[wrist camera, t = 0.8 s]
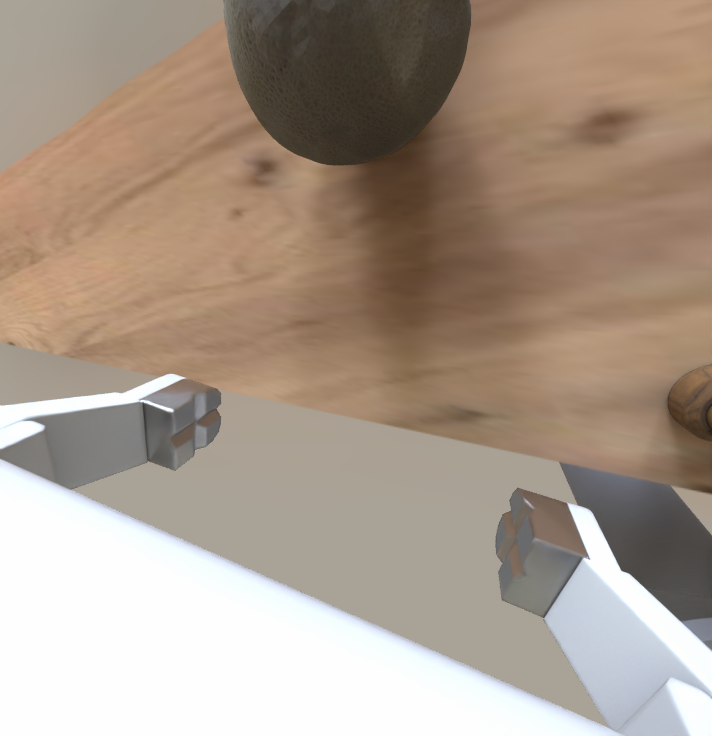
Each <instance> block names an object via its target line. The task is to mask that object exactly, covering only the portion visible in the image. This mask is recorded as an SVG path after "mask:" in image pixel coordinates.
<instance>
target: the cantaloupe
mask: <svg viewBox="0 0 712 736" xmlns="http://www.w3.org/2000/svg"><path fill="white" fill-rule="evenodd" d="M224 19H225V26H226V31H227V38H228V44H229V49H230V54H231V59H232V63H233V67H234V70H235V73H236V76H237V79H238V82H239V85H240V87H241V89H242V91H243V93H244V95H245V98H246V100H247V101H248V103H249V105H250V107H251V109H252V110H253V112H254V114H255V115H256V117H257V119H258V120H259V122H260V123H261V124H262V126H263V127H264V128H265V130H266V131H267V132H268V133H269V134H270V135H271V136H272V137H273V138H274V139H275V140H276V141H277V142H278V143H279V144H281V145H282V146H283V147H285V148H286V149H288V150H289V151H291V152H293V153H294V154H297V155H299V156H302V157H304V158H307V159H310V160H312V161H315V162H318V163H321V164H326V165H355V164H360V163H365V162H369V161H372V160H376V159H379V158H382V157H384V156H387V155H389V154H391V153H393V152H395V151H397V150H399V149H400V148H401V147H403V146H404V145H405V144H406V143H408V142H409V141H410V140H411V139H413V138H414V137H415V136H416V135H417V134H418V133H419V132H420V131H421V130H422V129H423V128H424V127H425V126H426V125H427V123H428V122H429V121H430V120H431V119H432V118H433V117H434V116H435V115H436V113H437V112H438V111H439V109H440V108H441V107H442V105H443V103H444V102H445V100H446V98H447V96H448V94H449V93H450V91H451V89H452V87H453V85H454V83H455V81H456V79H457V77H458V75H459V73H460V70H461V68H462V65H463V62H464V58H465V54H466V49H467V43H468V37H469V31H470V25H471V4H470V1H469V0H224Z"/></svg>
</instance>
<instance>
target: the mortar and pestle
mask: <svg viewBox="0 0 712 736" xmlns="http://www.w3.org/2000/svg"><path fill="white" fill-rule="evenodd" d="M668 407H669V411H670V413H671V415H672V416H673V417H674V419H675V420H676V421H677V422H679V423H680V424H681V425H682V426H683V427H685V428H686V429H687V430H688V431H690V432H691V433H692V434H694V435H695V436H697V437H699V438H701V439H704V440H707V441H711V442H712V365H708V366H704V367H701V368H698V369H696V370H694V371H692V372H690V373H688V374H686V375H685V376H683V377H682V378H681V379H680V380H679V381H678V382H677V383H676V384H675V385H674V386H673V388H672V389H671V392H670V394H669V398H668Z"/></svg>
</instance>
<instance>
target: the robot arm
mask: <svg viewBox="0 0 712 736" xmlns="http://www.w3.org/2000/svg"><path fill="white" fill-rule="evenodd" d="M220 404H221V393H220V392H219V391H218V389H216V388H213V387H210V386H207V385H204V384H202V383H199V382H196V381H193V380H190V379H187V378H185V377H181V376H178V375H175V374H167V375H165V376H162V377H160V378H158V379H156V380H153V381H151V382H149V383H146V384H144V385H142V386H139V387H137V388H135V389H132V390H130V391H128V392H125V393H123V394H120V393H109V394H100V395H92V396H83V397H74V398H66V399H56V400H47V401H39V402H30V403H21V404H12V405H4V406H0V736H712V650H711V649H710V648H708V647H707V646H706V645H705V644H704V643H703V642H702V641H701V640H700V639H699V638H698V637H697V636H696V635H695V634H693V633H692V632H691V631H690V630H689V629H688V628H687V627H686V626H685V625H684V624H683V623H682V622H681V621H680V620H678V619H677V618H676V617H675V616H674V615H673V614H672V613H671V612H670V611H669V610H668V609H667V608H666V607H664V606H663V605H662V604H661V603H660V602H659V601H658V600H657V599H656V598H655V597H654V596H653V595H652V594H651V593H649V592H648V591H647V590H646V589H645V588H644V587H643V586H642V585H641V584H640V583H639V582H638V581H637V580H636V579H634V578H633V577H632V576H631V575H630V574H628V573H625V572H622V571H621V570H620V568H619V565H618V563H617V561H616V559H615V557H614V555H613V553H612V551H611V549H610V547H609V545H608V543H607V541H606V539H605V537H604V535H603V533H602V531H601V529H600V527H599V525H598V523H597V521H596V519H595V517H594V515H593V513H592V512H591V511H590V510H589V509H587V508H584V507H580V506H577V505H574V504H570V503H567V502H562V501H559V500H556V499H552V498H549V497H546V496H543V495H539V494H536V493H533V492H530V491H526V490H523V489H520V488H517V489H516V490H515V491H514V492H513V494H512V496H511V498H510V506H511V511H509V512H507V513H505V514H503V515H502V518H501V520H500V522H499V525H498V529H497V534H496V554H497V556H498V558H499V559H500V560H501V562H502V563H503V564H502V566H501V568H500V570H499V572H498V573H499V581H500V589H501V598H502V600H503V601H505V602H508V603H510V604H512V605H515V606H517V607H520V608H522V609H524V610H526V611H529V612H532V613H534V614H536V615H538V616H541V617H543V618H544V619H543V620H544V622H545V623H546V625H547V627H548V628H549V630H550V632H551V633H552V635H553V636H554V638H555V640H556V641H557V643H558V645H559V646H560V648H561V650H562V651H563V653H564V654H565V656H566V658H567V659H568V661H569V663H570V664H571V666H572V667H573V669H574V671H575V673H576V674H577V676H578V677H579V679H580V681H581V682H582V684H583V686H584V687H585V689H586V690H587V692H588V694H589V695H590V697H591V699H592V700H593V702H594V704H595V705H596V707H597V708H598V710H599V712H600V713H601V715H602V717H603V718H604V720H605V722H606V723H607V725H608V727H609V728H608V727H605V726H603V725H601V724H598V723H596V722H594V721H592V720H590V719H587V718H585V717H583V716H581V715H578V714H576V713H574V712H572V711H569V710H567V709H565V708H562V707H560V706H558V705H556V704H553V703H551V702H549V701H547V700H544V699H542V698H540V697H538V696H535V695H533V694H531V693H528V692H526V691H524V690H522V689H519V688H517V687H515V686H513V685H510V684H508V683H506V682H504V681H502V680H499V679H497V678H495V677H493V676H490V675H488V674H486V673H483V672H481V671H479V670H477V669H474V668H472V667H470V666H468V665H465V664H463V663H461V662H459V661H456V660H454V659H452V658H450V657H447V656H445V655H443V654H441V653H438V652H436V651H434V650H432V649H429V648H427V647H425V646H422V645H420V644H418V643H416V642H413V641H411V640H409V639H407V638H404V637H402V636H400V635H398V634H395V633H393V632H391V631H389V630H386V629H384V628H382V627H379V626H377V625H375V624H373V623H370V622H368V621H366V620H364V619H361V618H359V617H357V616H355V615H352V614H350V613H348V612H346V611H343V610H341V609H339V608H337V607H334V606H332V605H330V604H328V603H325V602H323V601H321V600H318V599H316V598H314V597H312V596H310V595H307V594H305V593H303V592H301V591H298V590H296V589H293V588H291V587H289V586H287V585H285V584H282V583H280V582H278V581H275V580H273V579H271V578H269V577H267V576H264V575H262V574H260V573H258V572H255V571H253V570H251V569H249V568H246V567H244V566H242V565H239V564H237V563H235V562H233V561H230V560H228V559H226V558H224V557H221V556H219V555H217V554H215V553H212V552H210V551H208V550H205V549H203V548H201V547H199V546H196V545H194V544H192V543H190V542H188V541H185V540H183V539H181V538H179V537H176V536H174V535H172V534H170V533H167V532H165V531H163V530H160V529H158V528H156V527H153V526H151V525H149V524H147V523H144V522H142V521H140V520H138V519H136V518H133V517H131V516H129V515H127V514H124V513H122V512H120V511H118V510H115V509H113V508H111V507H109V506H106V505H104V504H102V503H99V502H97V501H95V500H93V499H90V498H88V497H86V496H84V495H81V494H79V493H77V492H74V491H72V490H71V489H74V488H77V487H79V486H82V485H85V484H88V483H91V482H94V481H97V480H99V479H102V478H105V477H108V476H111V475H114V474H116V473H119V472H122V471H125V470H128V469H131V468H133V467H136V466H139V465H142V464H145V463H147V462H148V461H149V462H152V463H155V464H158V465H161V466H163V467H166V468H169V469H172V470H174V471H175V470H177V469H178V468H179V467H181V466H182V465H183V464H185V463H186V462H187V461H188V460H190V459H191V458H192V457H193V456H194V452H195V450H196V449H200V448H204V447H206V446H207V445H209V444H210V443H211V442H212V441H213V440H214V438H215V437H216V435H217V433H218V432H219V428H220V424H221V416H220V414H219V413H218V411H217V409H216V408H217V407H218V406H219V405H220Z"/></svg>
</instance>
